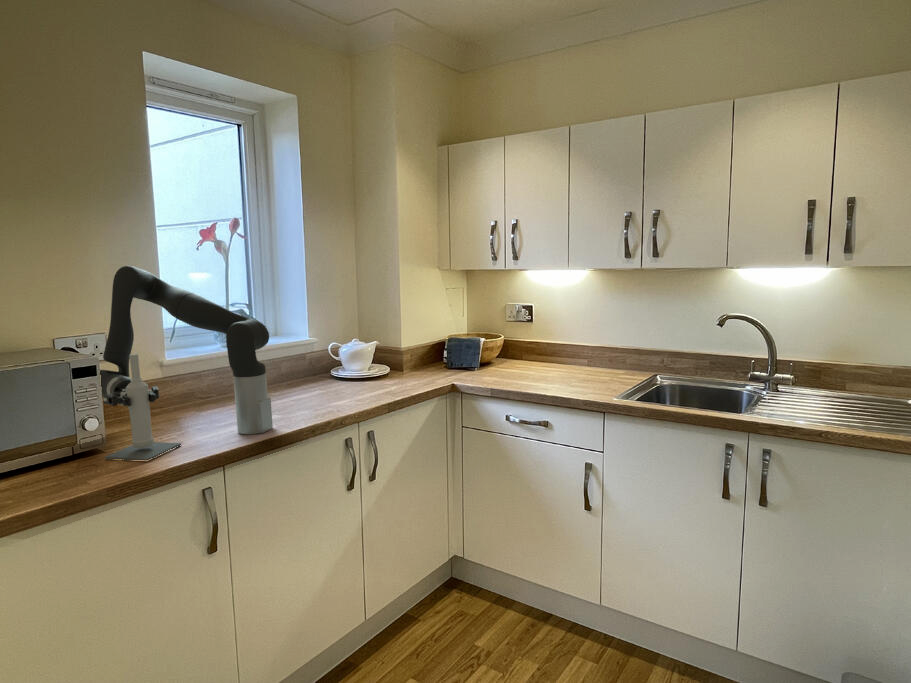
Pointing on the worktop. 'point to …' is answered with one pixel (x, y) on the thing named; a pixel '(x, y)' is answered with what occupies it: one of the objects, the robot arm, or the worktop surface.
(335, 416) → the worktop surface
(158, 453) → the charcoal mat
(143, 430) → the bottle
